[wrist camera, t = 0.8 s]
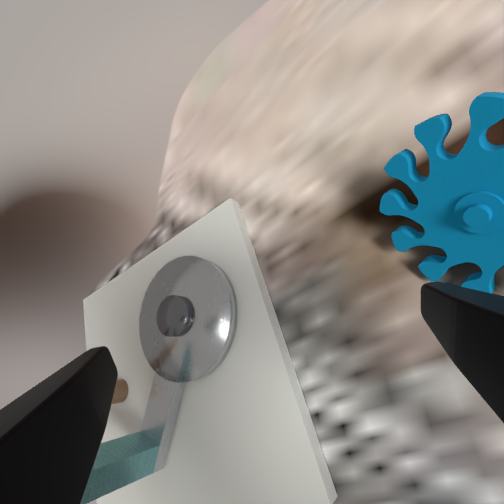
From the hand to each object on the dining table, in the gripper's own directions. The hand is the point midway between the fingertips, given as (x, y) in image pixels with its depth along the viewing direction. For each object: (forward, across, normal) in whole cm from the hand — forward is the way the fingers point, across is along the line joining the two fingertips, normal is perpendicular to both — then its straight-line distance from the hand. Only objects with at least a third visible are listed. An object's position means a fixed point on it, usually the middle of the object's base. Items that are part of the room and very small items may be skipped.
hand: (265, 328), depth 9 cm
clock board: (+15, +9, +12) cm, 22 cm away
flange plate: (+14, +8, +10) cm, 19 cm away
